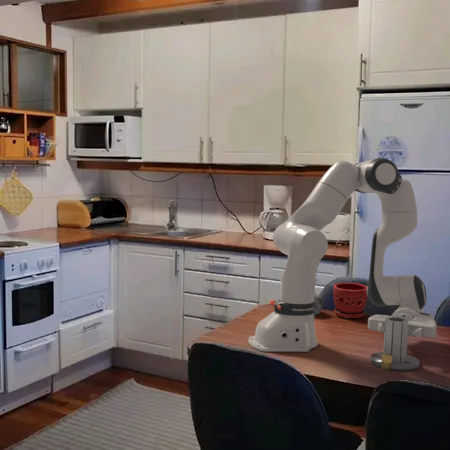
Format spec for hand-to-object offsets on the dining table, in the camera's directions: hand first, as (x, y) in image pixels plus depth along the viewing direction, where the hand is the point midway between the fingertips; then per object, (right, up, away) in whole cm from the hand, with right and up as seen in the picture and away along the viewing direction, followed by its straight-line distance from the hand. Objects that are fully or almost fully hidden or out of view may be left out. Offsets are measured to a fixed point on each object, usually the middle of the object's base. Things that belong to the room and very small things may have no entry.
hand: (397, 332), depth 177 cm
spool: (-19, -3, +58) cm, 61 cm away
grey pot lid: (-1, -9, -1) cm, 9 cm away
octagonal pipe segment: (-1, -8, -1) cm, 8 cm away
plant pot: (-3, -4, +54) cm, 54 cm away
